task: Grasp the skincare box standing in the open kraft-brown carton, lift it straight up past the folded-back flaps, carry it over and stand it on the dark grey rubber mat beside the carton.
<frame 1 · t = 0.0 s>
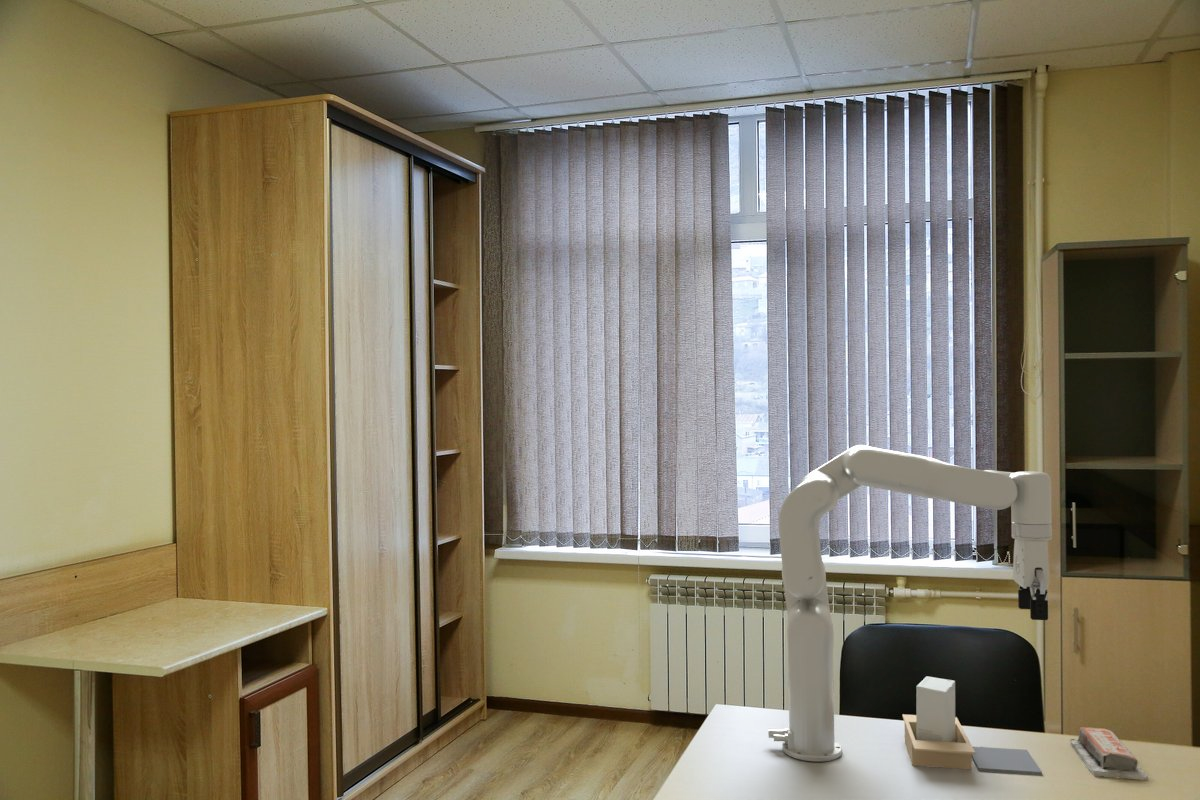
hand: (1032, 614, 188), 31 cm above the table, tool pointing down, fingers open, 9 cm apart
mat: (1003, 761, 190), on the table
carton: (937, 755, 194), on the table
packaged product: (1106, 764, 190), on the table
skincare box: (937, 756, 194), resting in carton
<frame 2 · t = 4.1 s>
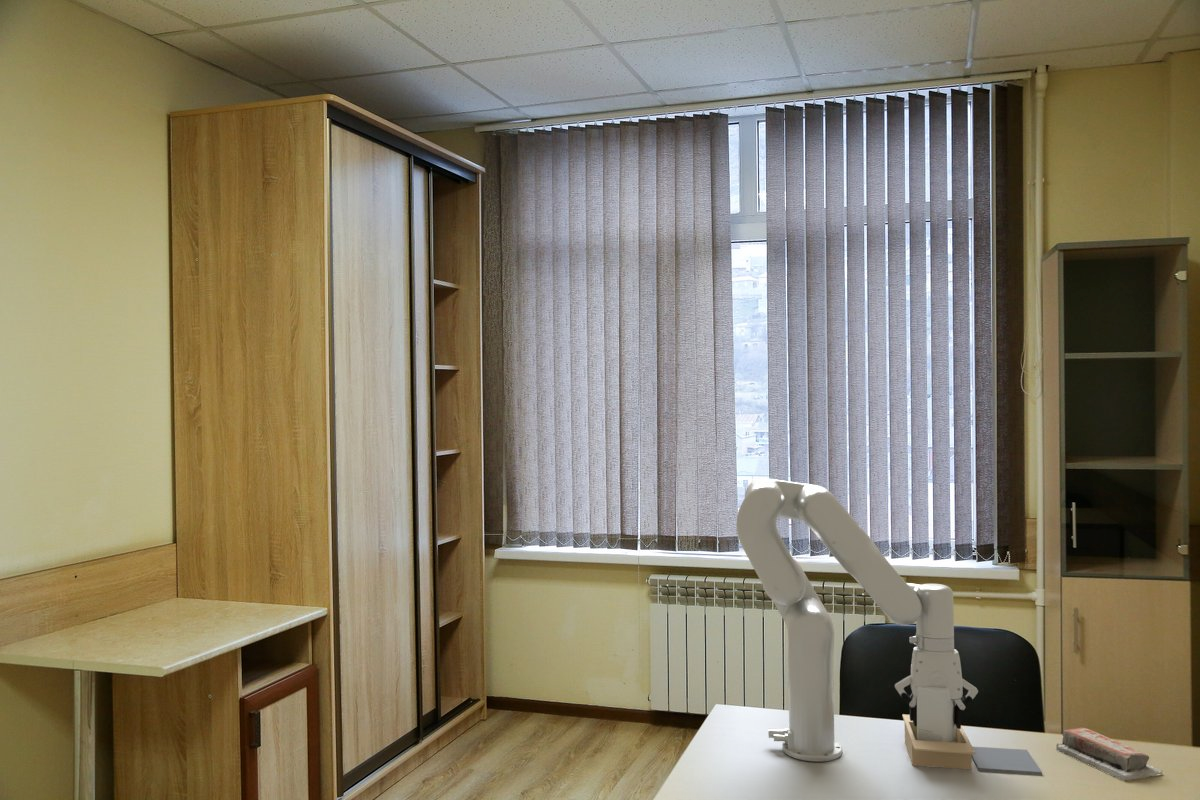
hand: (936, 725, 194), 7 cm above the table, tool pointing down, fingers closed on skincare box, 8 cm apart
skincare box: (937, 756, 194), resting in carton, touching gripper
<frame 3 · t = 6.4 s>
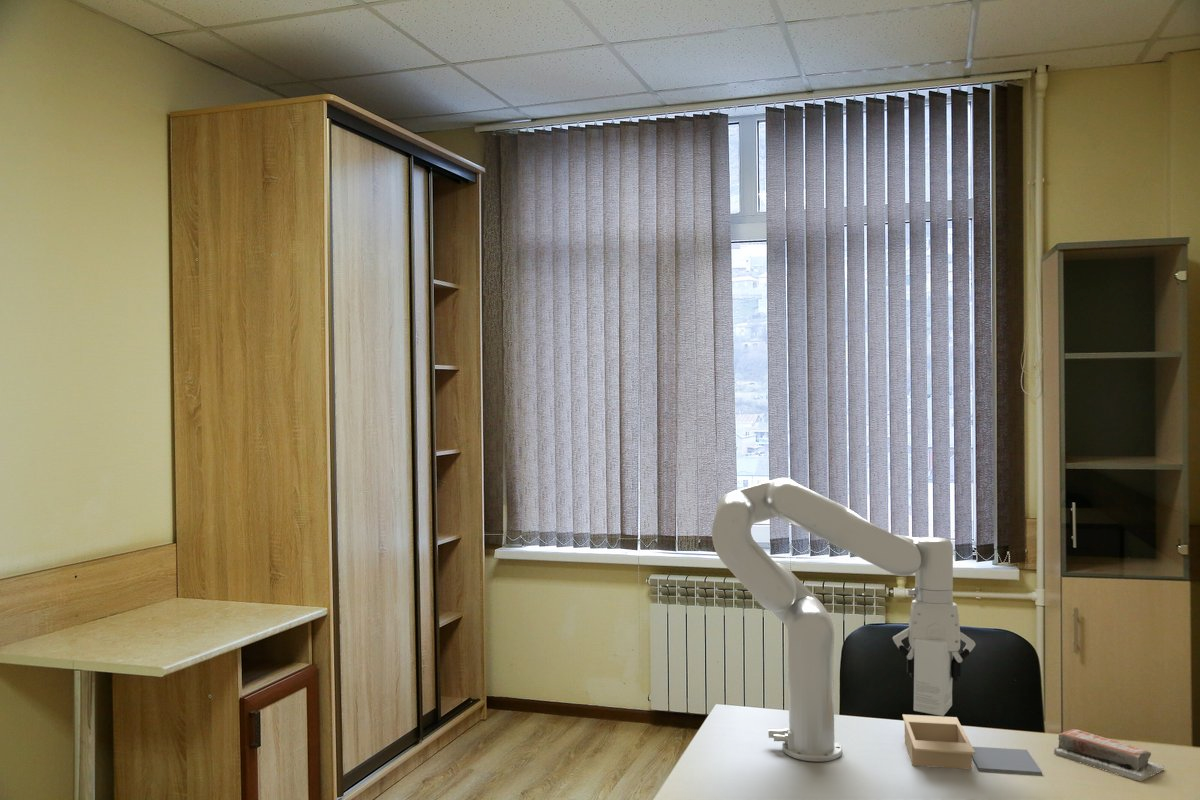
hand: (933, 677, 194), 17 cm above the table, tool pointing down, fingers closed on skincare box, 8 cm apart
skincare box: (933, 709, 194), point 10 cm above the table, touching gripper
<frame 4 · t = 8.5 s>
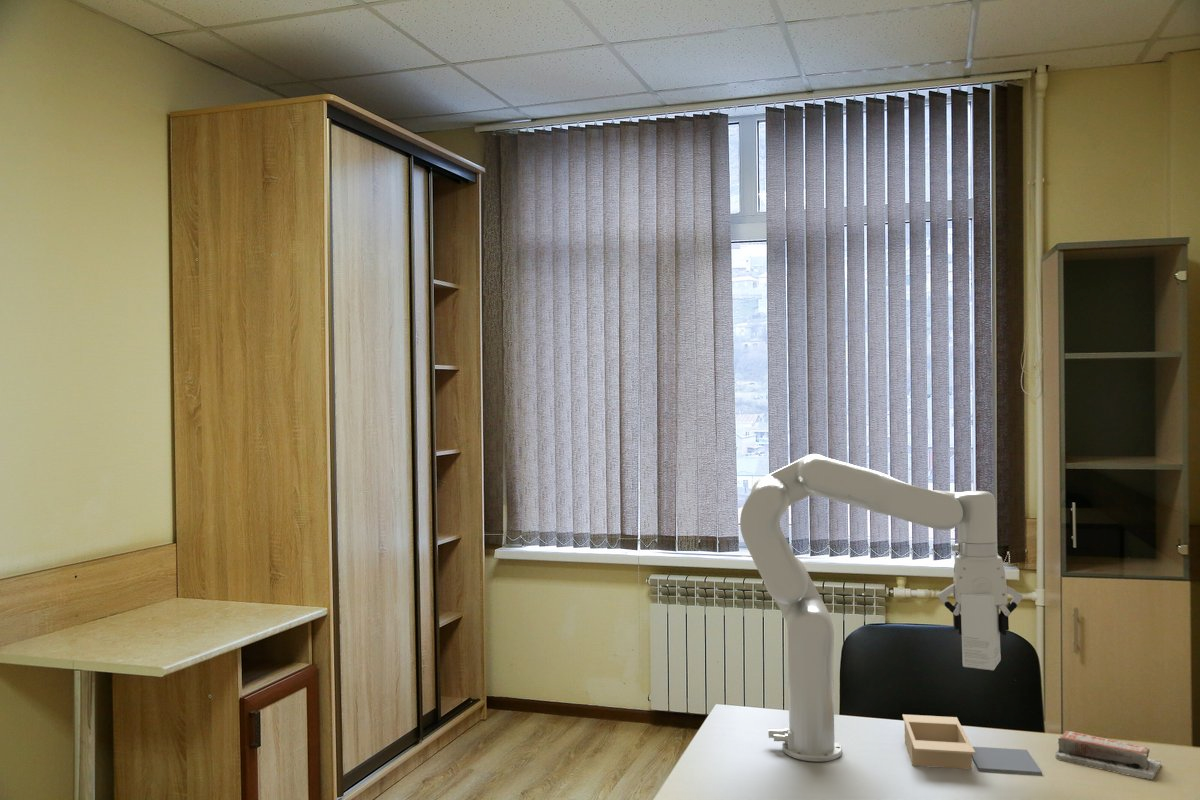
hand: (981, 632, 191), 27 cm above the table, tool pointing down, fingers closed on skincare box, 8 cm apart
skincare box: (982, 665, 191), point 20 cm above the table, touching gripper
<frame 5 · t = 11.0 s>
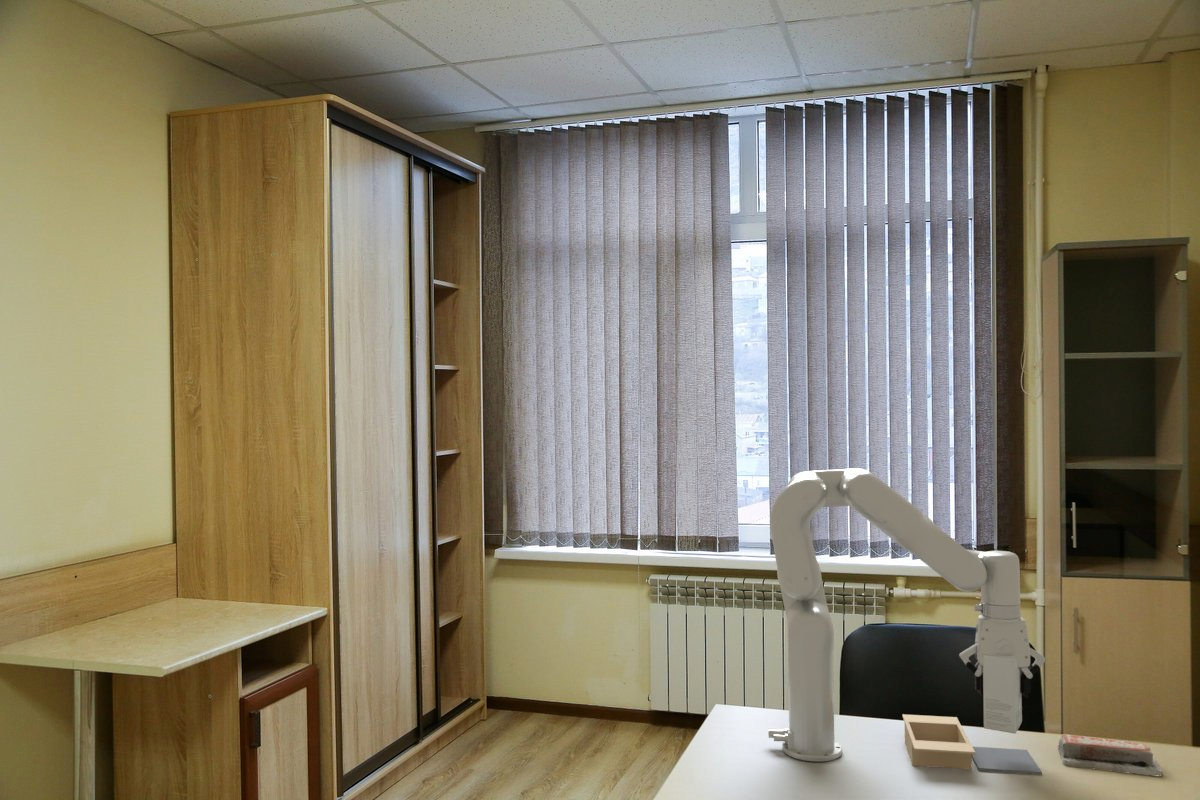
hand: (1002, 694, 190), 14 cm above the table, tool pointing down, fingers closed on skincare box, 8 cm apart
skincare box: (1004, 726, 190), point 7 cm above the table, touching gripper
when the fingers open (8 cm above the table, at t = 13.2 s): skincare box drops 1 cm, resting on mat.
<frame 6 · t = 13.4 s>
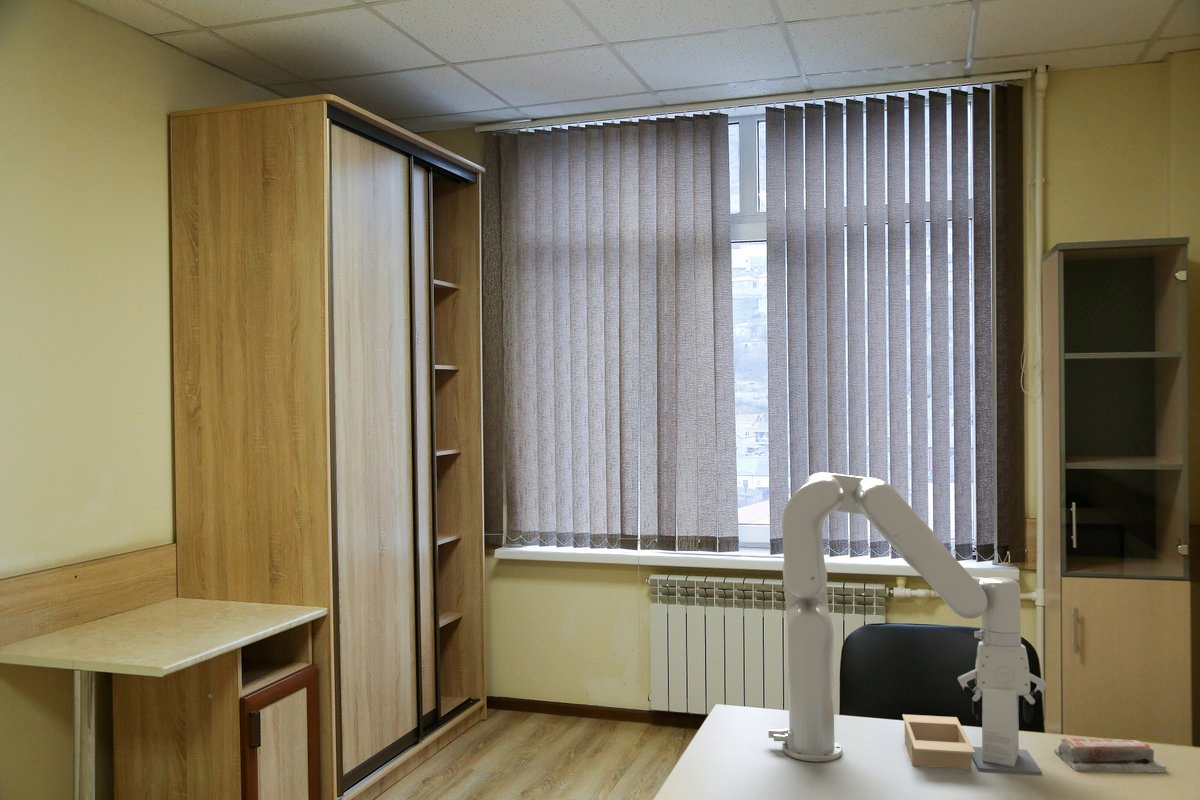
hand: (1002, 719, 190), 9 cm above the table, tool pointing down, fingers open, 9 cm apart
skincare box: (1001, 759, 190), resting on mat
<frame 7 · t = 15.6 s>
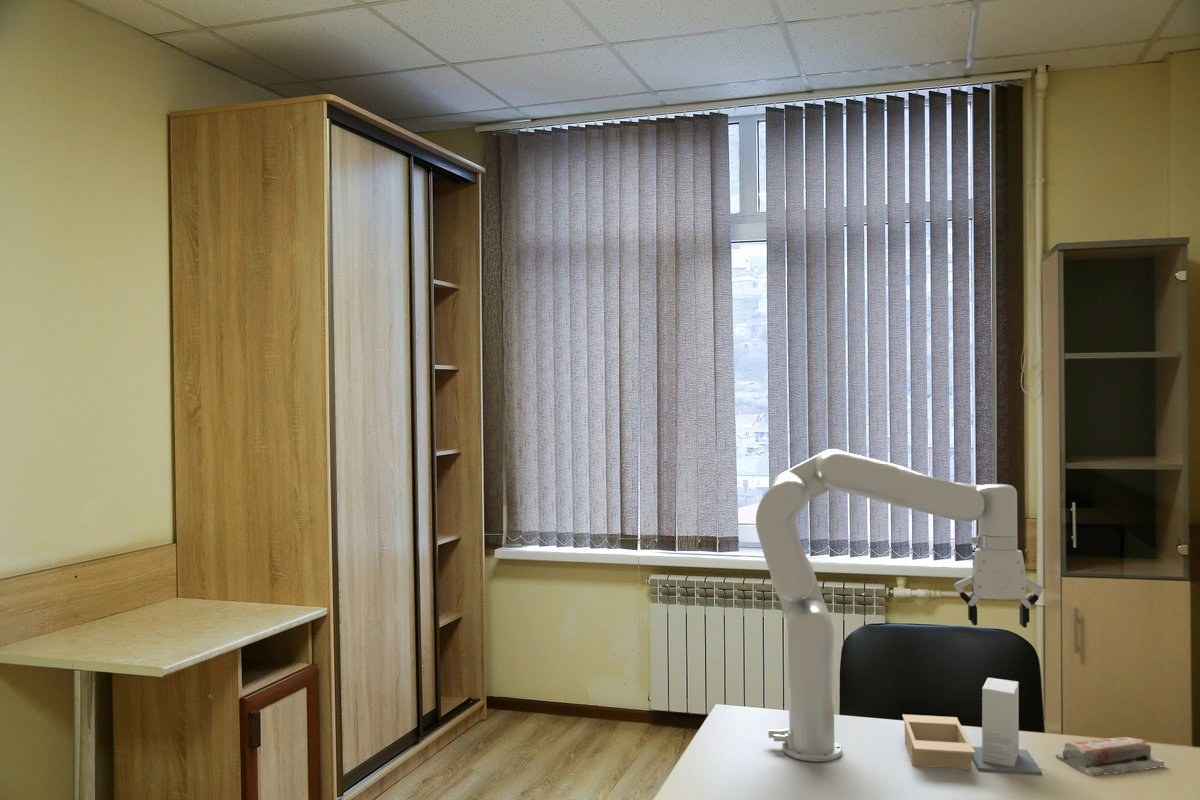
hand: (998, 624, 191), 28 cm above the table, tool pointing down, fingers open, 9 cm apart
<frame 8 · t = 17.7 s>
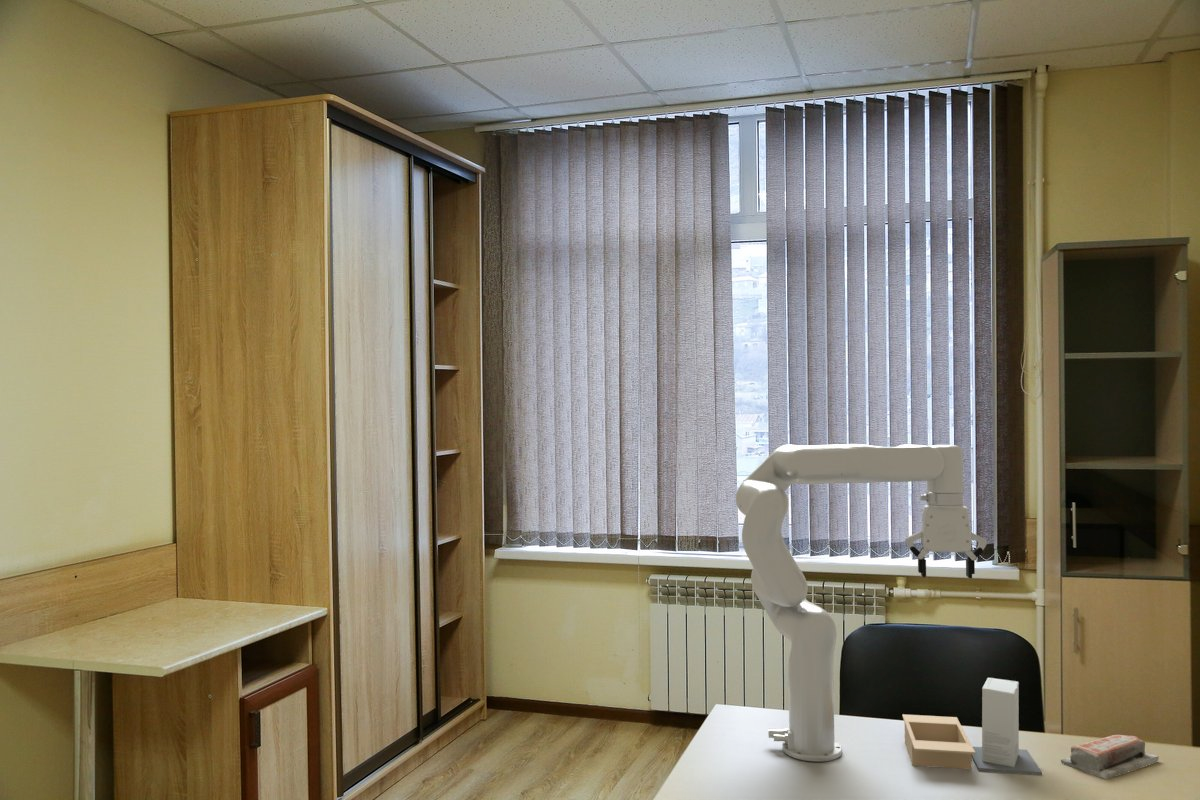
hand: (946, 576, 203), 36 cm above the table, tool pointing down, fingers open, 9 cm apart
at the end: skincare box inside the target area on the mat (0.3 cm from its centre), point 0.4 cm above the mat's base; skincare box tilted 0°; the gripper is holding nothing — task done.
